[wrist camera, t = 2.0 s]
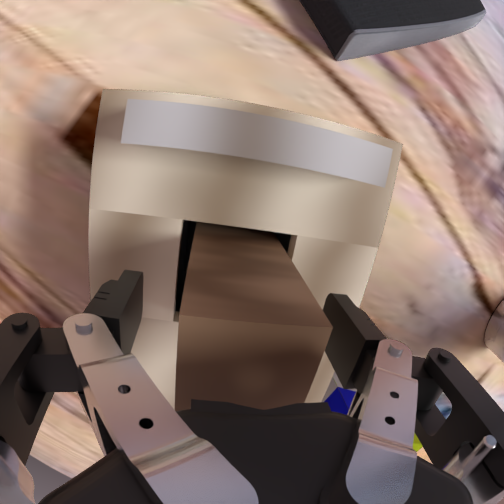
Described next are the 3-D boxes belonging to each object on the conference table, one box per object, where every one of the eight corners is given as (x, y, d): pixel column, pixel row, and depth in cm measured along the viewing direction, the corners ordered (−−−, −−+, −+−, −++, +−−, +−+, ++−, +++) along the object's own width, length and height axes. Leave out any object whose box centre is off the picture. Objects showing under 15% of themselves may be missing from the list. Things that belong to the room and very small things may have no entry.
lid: (392, 143, 14) (432, 146, 11) (294, 440, 21) (304, 474, 18) (110, 92, 12) (81, 80, 9) (114, 428, 19) (106, 462, 16)
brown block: (257, 208, 22) (332, 327, 8) (248, 260, 23) (295, 422, 9) (201, 200, 21) (179, 314, 7) (194, 253, 23) (174, 418, 9)
